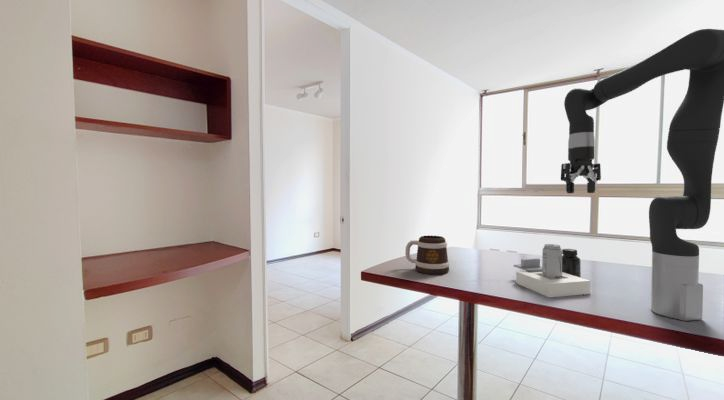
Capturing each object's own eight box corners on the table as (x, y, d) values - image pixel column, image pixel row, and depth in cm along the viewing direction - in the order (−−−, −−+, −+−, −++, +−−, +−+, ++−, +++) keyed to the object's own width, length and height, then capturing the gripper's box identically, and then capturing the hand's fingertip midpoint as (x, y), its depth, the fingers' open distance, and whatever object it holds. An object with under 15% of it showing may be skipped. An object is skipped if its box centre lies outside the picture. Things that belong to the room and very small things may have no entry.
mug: (452, 268, 139) (452, 235, 138) (445, 277, 125) (445, 240, 125) (410, 264, 148) (410, 233, 148) (399, 271, 135) (399, 237, 134)
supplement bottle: (574, 277, 123) (574, 248, 122) (584, 282, 116) (585, 251, 115) (555, 277, 123) (556, 248, 123) (565, 282, 116) (565, 251, 116)
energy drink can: (560, 290, 106) (560, 247, 105) (540, 287, 110) (540, 245, 109) (563, 286, 110) (563, 245, 110) (544, 283, 114) (544, 243, 114)
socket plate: (590, 293, 103) (590, 280, 103) (549, 297, 100) (549, 283, 100) (552, 280, 119) (552, 269, 119) (516, 283, 116) (516, 271, 116)
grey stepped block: (548, 270, 116) (548, 260, 116) (528, 271, 115) (529, 261, 114) (532, 265, 124) (532, 256, 124) (513, 266, 123) (513, 257, 123)
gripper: (588, 148, 112) (587, 193, 113) (555, 148, 110) (554, 193, 110) (608, 145, 105) (607, 193, 105) (573, 144, 102) (572, 193, 103)
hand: (580, 193), depth 108 cm, fingers open, 8 cm apart
